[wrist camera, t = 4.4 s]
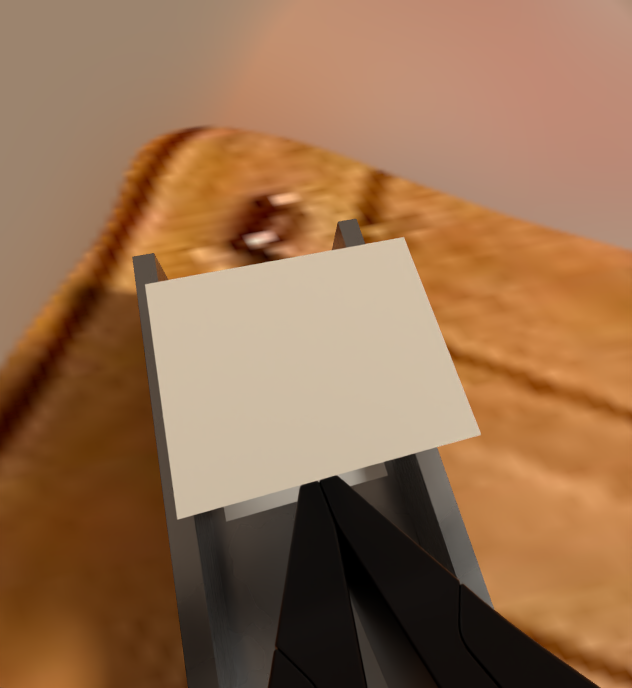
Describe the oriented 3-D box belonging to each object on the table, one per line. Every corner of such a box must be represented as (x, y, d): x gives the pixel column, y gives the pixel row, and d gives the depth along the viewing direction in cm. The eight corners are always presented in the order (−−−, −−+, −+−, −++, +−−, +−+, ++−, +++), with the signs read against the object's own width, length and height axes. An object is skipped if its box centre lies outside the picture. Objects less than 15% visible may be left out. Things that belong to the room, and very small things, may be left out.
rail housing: (477, 685, 15) (544, 752, 11) (233, 781, 13) (215, 898, 9) (342, 268, 20) (356, 218, 17) (161, 303, 19) (132, 257, 15)
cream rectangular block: (381, 476, 16) (519, 456, 7) (229, 519, 15) (146, 567, 6) (346, 359, 17) (418, 212, 8) (207, 391, 16) (112, 265, 7)
